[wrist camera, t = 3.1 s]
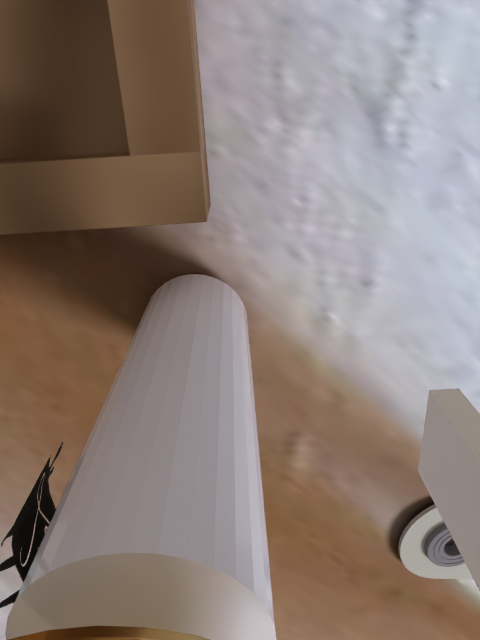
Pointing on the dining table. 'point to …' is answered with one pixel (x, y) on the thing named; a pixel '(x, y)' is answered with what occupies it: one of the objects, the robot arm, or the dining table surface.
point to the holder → (100, 115)
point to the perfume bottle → (158, 493)
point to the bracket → (431, 548)
